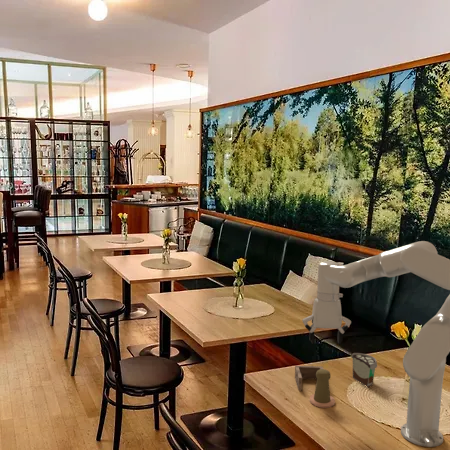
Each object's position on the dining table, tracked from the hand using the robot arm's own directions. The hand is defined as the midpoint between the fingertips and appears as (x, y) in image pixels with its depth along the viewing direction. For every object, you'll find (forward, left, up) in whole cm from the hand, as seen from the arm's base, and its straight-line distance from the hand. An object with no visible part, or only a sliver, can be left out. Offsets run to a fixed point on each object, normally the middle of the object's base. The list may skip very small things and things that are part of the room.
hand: (325, 342), depth 172 cm
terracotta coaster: (0, 0, -22) cm, 22 cm away
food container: (+18, -21, -23) cm, 35 cm away
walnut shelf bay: (+14, +2, -22) cm, 26 cm away
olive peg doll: (0, 0, -22) cm, 22 cm away
